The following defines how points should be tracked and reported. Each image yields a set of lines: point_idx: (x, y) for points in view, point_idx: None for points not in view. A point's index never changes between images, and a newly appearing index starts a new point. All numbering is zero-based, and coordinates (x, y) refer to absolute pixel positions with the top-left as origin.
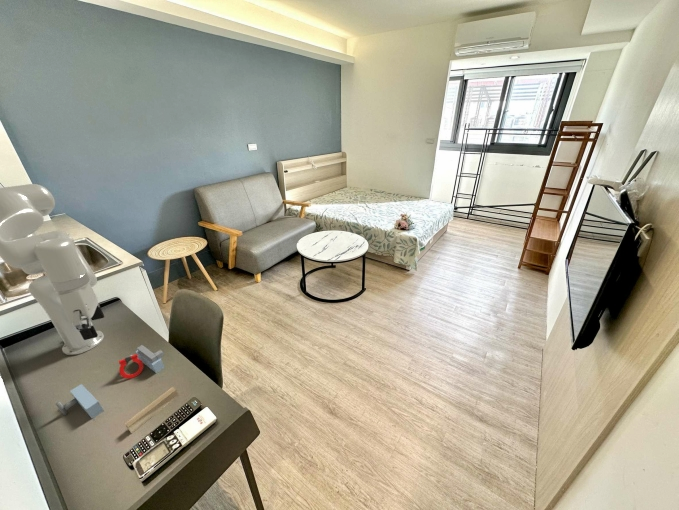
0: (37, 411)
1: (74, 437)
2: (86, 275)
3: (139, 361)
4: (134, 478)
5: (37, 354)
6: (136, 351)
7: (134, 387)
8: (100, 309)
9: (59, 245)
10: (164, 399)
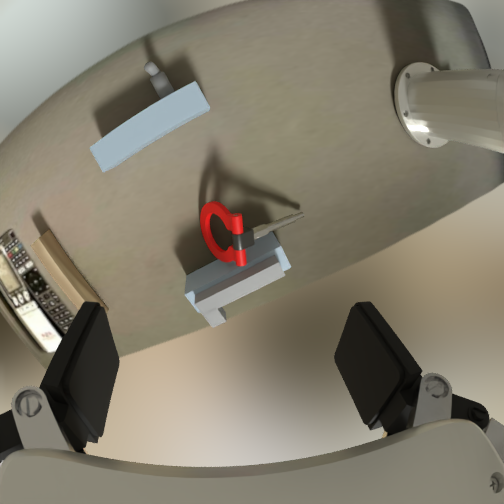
0: (212, 15)
1: (72, 122)
2: None
3: (225, 258)
4: None
5: (431, 26)
6: (279, 248)
7: (162, 227)
8: (363, 417)
9: None
10: (76, 305)
